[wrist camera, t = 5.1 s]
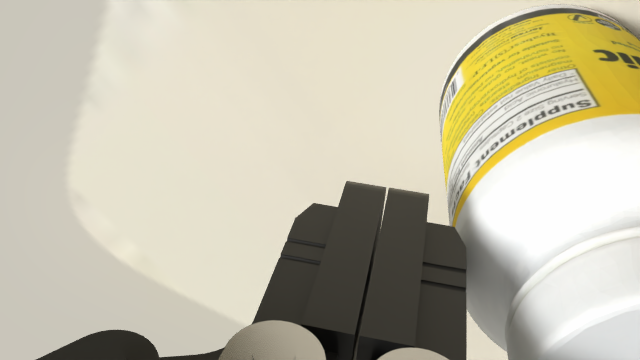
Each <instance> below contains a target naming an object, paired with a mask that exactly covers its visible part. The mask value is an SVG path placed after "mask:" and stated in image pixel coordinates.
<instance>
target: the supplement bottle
mask: <svg viewBox="0 0 640 360" xmlns="http://www.w3.org/2000/svg"><path fill="white" fill-rule="evenodd" d="M439 112H440V133H441V143H442V152H443V163H444V173H445V183H446V192H447V202H448V213H449V223H450V226H452V227H455V229H456V230H457V232H458V234H459V235H460V237H461V239H462V241H463V242H464V244H465V246H466V248H467V270H466V274H467V288H466V293H467V294H466V309H467V310H468V312H469V313H470V315H471V317H472V318H473V320H474V321H475V322H476V324H477V325H478V326H479V327H480V329H481V330H482V331H483V332H484V333H485V334H486V335H487V336H488V337H489V338H490V339H491V340H492V341H493V342H494V343H496V344H497V345H498V346H499V347H501V348H502V349H504V350H505V351H507V353H508V359H509V360H640V41H639V39H638V38H637V37H636V36H634V35H633V34H632V33H631V32H630V31H629V30H628V29H627V28H625V27H624V26H623V25H621V24H620V23H619V22H617V21H616V20H614V19H613V18H611V17H609V16H607V15H605V14H603V13H601V12H598V11H596V10H592V9H589V8H586V7H581V6H575V5H564V4H553V5H543V6H536V7H532V8H528V9H524V10H521V11H518V12H515V13H513V14H511V15H508V16H506V17H504V18H502V19H500V20H498V21H496V22H494V23H492V24H491V25H489V26H488V27H486V28H485V29H484V30H482V31H481V32H480V33H479V34H477V35H476V36H475V37H474V38H473V39H472V40H471V41H470V42H469V43H468V44H467V45H466V46H465V47H464V48H463V49H462V50H461V52H460V53H459V54H458V56H457V57H456V59H455V60H454V62H453V64H452V66H451V67H450V69H449V71H448V74H447V76H446V78H445V81H444V84H443V87H442V92H441V97H440V111H439Z"/></svg>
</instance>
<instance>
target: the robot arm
mask: <svg viewBox="0 0 640 360" xmlns="http://www.w3.org/2000/svg"><path fill="white" fill-rule="evenodd" d="M385 194H386V187H381V186H375V185H369V184H362V183H356V182H350V181H347V182H346V184H345V187H344V190H343V193H342V196H341V200H340V203H339V206H338V207H333V206H328V205H322V204H316V203H313V204H312V205H311V206H310V207H308V208H307V209H306V210H305V211H304V212H302V213H301V214H300V215H299V216H297V217H296V218H295V221H294V223H293V226H292V228H291V230H290V233H289V235H288V238H287V242H286V243H285V245H284V248H283V250H282V252H281V257H280V258H279V260H278V262H277V265H276V267H275V270H274V272H273V274H272V277H271V279H270V282H269V284H268V287H267V289H266V292H265V294H264V296H263V299H262V301H261V304H260V306H259V309H258V311H257V314H256V316H255V318H254V321H253V323H252V324H251V325H249V326H247V327H245V328H244V329H242V330H240V331H239V332H238V333H236V334H235V335H234V336H233V337H232V338H231V339H230V340H229V342H228V343H227V345H226V346H225V348H222V349H219V350H217V351H214V352H210V353H206V354H198V355H189V356H174V357H161V358H159V355H158V352H157V350H156V348H155V347H154V345H153V344H152V343H151V342H150V341H149V340H148V339H146V338H145V337H144V336H141V335H139V334H137V333H134V332H131V331H125V330H107V331H101V332H97V333H94V334H90V335H88V336H86V337H83V338H81V339H79V340H76V341H74V342H72V343H70V344H68V345H66V346H64V347H62V348H60V349H58V350H56V351H53V352H51V353H49V354H47V355H45V356H43V357H41V358H39V359H36V360H466V294H467V293H466V288H467V274H466V270H467V248H466V246H465V244H464V242H463V241H462V239H461V237H460V235H459V234H458V232H457V230H456V229H455V227H452V226H446V225H440V224H434V223H428V222H427V212H428V202H429V194H425V193H418V192H412V191H406V190H400V189H394V188H389V191H388V195H387V200H386V205H385V210H384V215H383V208H384V201H385ZM382 215H383V220H382ZM381 222H382V225H381ZM380 229H381V230H380Z"/></svg>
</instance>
